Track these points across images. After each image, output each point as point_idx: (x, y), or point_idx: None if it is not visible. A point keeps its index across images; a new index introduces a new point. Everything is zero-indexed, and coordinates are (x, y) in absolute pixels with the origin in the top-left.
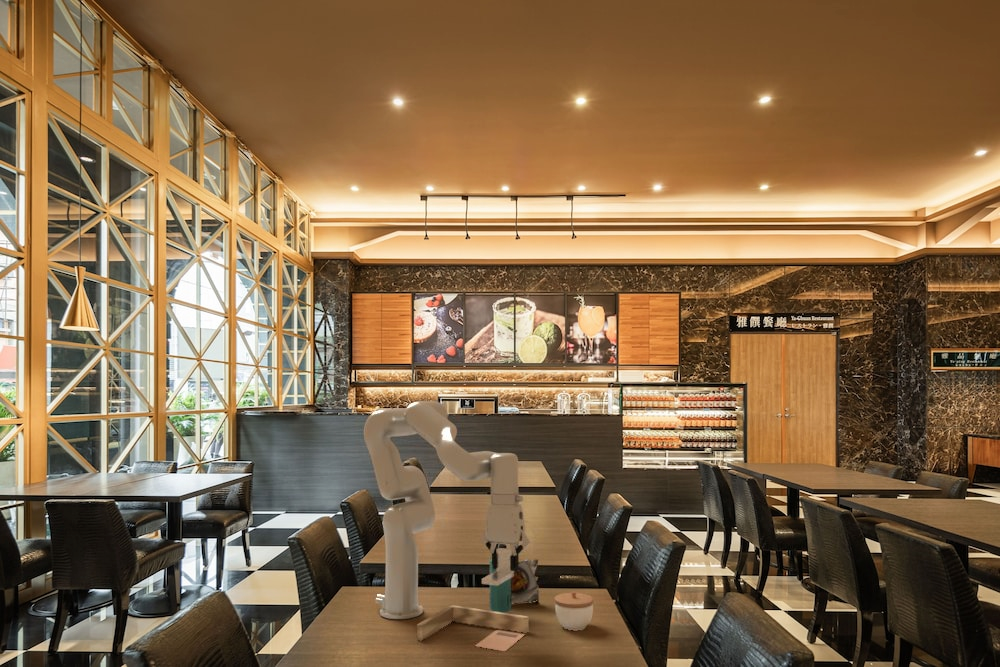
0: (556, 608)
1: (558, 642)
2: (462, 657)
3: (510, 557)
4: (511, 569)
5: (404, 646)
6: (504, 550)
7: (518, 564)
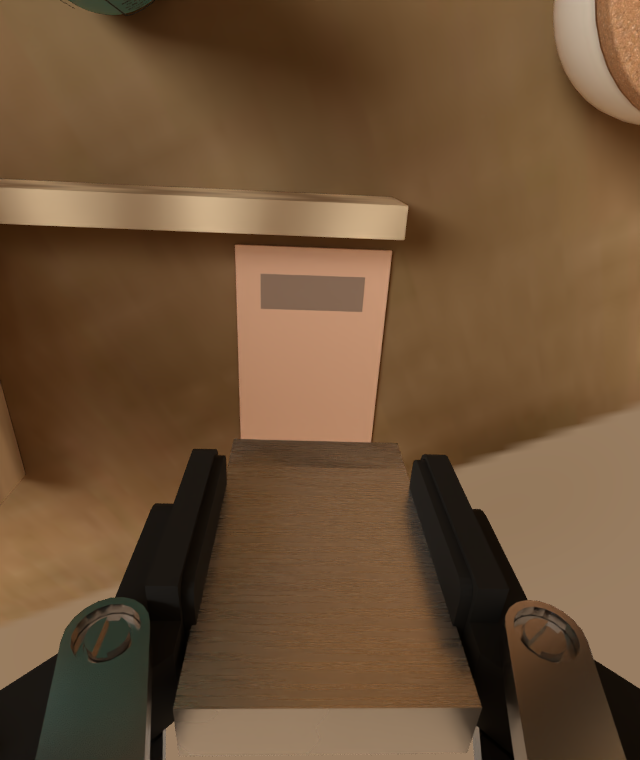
0: (592, 74)
1: (558, 278)
2: None
3: None
4: None
5: (10, 529)
6: (335, 738)
7: (484, 515)
